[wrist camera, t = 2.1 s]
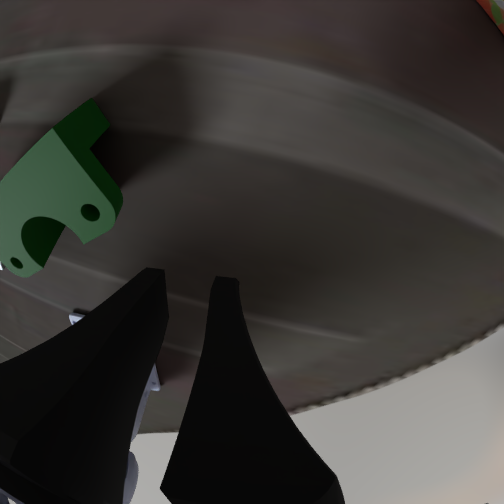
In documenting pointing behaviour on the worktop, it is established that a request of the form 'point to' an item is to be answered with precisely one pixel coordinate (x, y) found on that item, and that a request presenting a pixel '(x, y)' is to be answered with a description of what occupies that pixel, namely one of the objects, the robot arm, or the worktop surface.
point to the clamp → (57, 192)
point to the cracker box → (494, 11)
